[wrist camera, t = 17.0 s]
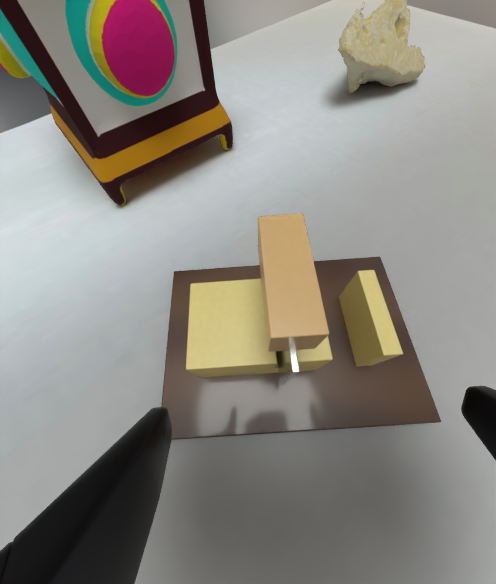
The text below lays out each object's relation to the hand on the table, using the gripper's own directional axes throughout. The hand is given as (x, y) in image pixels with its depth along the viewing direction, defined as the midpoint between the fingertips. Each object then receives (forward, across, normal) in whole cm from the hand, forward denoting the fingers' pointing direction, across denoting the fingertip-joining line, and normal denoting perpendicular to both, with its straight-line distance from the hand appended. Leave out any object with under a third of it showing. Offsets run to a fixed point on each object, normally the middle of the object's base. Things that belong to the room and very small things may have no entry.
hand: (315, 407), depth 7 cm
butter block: (+12, +2, +4) cm, 13 cm away
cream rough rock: (+40, -19, -23) cm, 50 cm away
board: (+12, -1, +5) cm, 13 cm away
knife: (+10, 0, +3) cm, 11 cm away
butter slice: (+12, -7, +4) cm, 14 cm away
